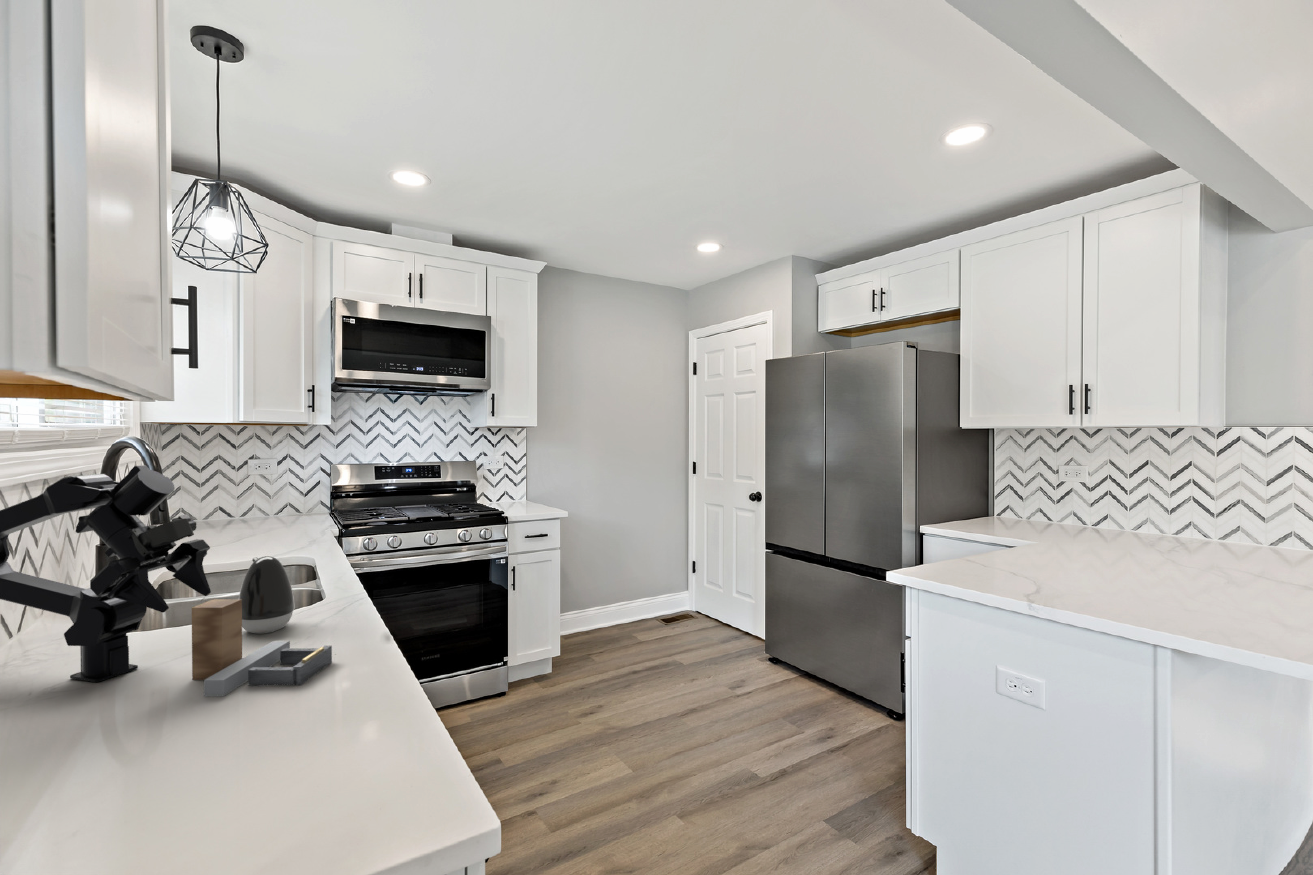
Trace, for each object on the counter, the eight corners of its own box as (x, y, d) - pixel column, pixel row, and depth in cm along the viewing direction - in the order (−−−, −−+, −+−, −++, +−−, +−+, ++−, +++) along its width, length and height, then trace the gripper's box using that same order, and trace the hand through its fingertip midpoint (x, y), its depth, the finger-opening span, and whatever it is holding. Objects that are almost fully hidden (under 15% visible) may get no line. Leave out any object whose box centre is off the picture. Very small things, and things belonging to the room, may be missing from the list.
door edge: (203, 696, 97) (203, 680, 97) (273, 654, 115) (273, 640, 115) (223, 696, 97) (223, 680, 97) (289, 654, 115) (289, 640, 115)
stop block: (192, 679, 104) (191, 607, 103) (213, 668, 109) (212, 599, 108) (222, 679, 104) (222, 607, 103) (242, 667, 109) (241, 599, 108)
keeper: (248, 685, 101) (248, 664, 101) (284, 662, 111) (284, 643, 111) (300, 685, 101) (300, 664, 101) (331, 662, 111) (331, 643, 111)
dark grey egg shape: (280, 618, 136) (280, 549, 136) (303, 627, 130) (303, 555, 130) (227, 631, 128) (227, 557, 128) (249, 641, 122) (248, 563, 122)
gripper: (108, 510, 96) (178, 585, 96) (200, 495, 114) (258, 557, 115) (58, 558, 96) (127, 633, 96) (157, 535, 115) (215, 598, 115)
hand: (188, 601), depth 106 cm, fingers open, 9 cm apart
